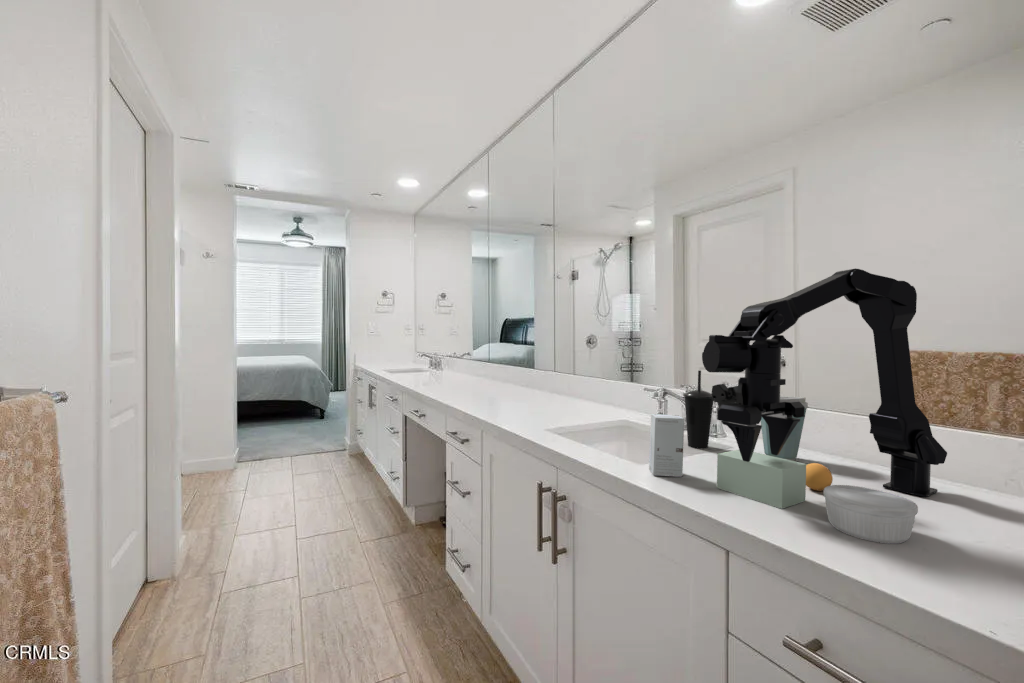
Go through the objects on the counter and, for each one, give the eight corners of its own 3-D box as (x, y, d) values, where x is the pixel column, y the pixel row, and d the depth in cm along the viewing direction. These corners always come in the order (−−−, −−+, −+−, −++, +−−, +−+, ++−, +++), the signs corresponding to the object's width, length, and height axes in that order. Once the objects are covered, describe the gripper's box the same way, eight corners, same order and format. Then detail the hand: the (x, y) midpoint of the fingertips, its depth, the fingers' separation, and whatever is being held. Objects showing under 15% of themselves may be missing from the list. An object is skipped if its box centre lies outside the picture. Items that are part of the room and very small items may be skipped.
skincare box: (653, 476, 93) (654, 417, 93) (648, 469, 97) (649, 413, 97) (684, 477, 93) (685, 418, 92) (677, 470, 97) (678, 414, 97)
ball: (808, 484, 90) (809, 458, 89) (837, 491, 85) (838, 465, 85) (795, 488, 87) (795, 462, 87) (824, 496, 83) (824, 468, 83)
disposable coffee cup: (748, 457, 109) (750, 395, 109) (765, 450, 117) (766, 391, 117) (799, 466, 102) (800, 400, 101) (813, 458, 109) (814, 396, 109)
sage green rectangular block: (740, 481, 90) (741, 449, 90) (805, 500, 80) (806, 464, 80) (716, 487, 86) (717, 453, 86) (781, 508, 76) (782, 470, 76)
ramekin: (889, 520, 72) (890, 487, 72) (937, 552, 61) (938, 514, 61) (810, 513, 75) (811, 481, 75) (843, 543, 64) (844, 505, 64)
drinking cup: (717, 451, 115) (718, 372, 115) (685, 449, 116) (686, 371, 116) (710, 444, 122) (711, 370, 122) (680, 442, 124) (681, 369, 124)
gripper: (749, 368, 95) (747, 443, 95) (691, 371, 85) (690, 454, 85) (806, 372, 85) (805, 455, 85) (749, 375, 75) (747, 469, 76)
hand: (760, 457), depth 83 cm, fingers open, 9 cm apart
